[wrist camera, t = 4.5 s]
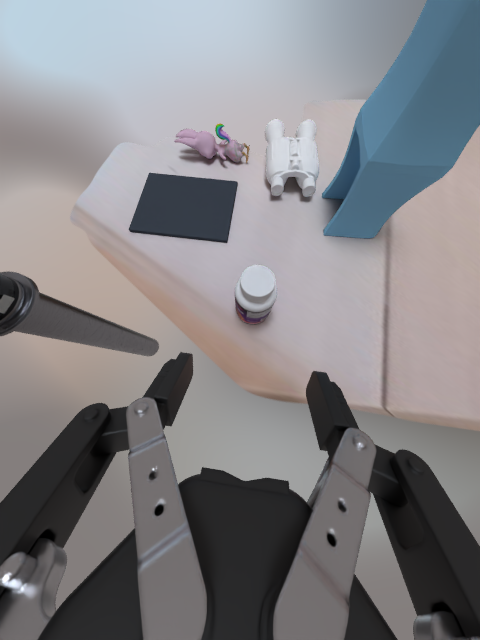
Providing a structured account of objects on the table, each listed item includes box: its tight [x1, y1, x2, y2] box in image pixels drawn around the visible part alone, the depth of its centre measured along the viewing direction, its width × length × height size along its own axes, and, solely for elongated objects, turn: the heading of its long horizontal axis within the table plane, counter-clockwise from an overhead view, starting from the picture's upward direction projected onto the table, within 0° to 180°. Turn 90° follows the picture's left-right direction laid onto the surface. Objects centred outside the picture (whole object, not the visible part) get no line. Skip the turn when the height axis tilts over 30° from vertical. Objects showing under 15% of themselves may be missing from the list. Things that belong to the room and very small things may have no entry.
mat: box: [129, 173, 237, 243], centre depth 36 cm, size 18×14×1 cm
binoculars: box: [265, 119, 319, 197], centre depth 36 cm, size 10×16×5 cm, turn 178°
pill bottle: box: [235, 265, 277, 324], centre depth 26 cm, size 5×5×10 cm
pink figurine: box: [174, 124, 249, 163], centre depth 37 cm, size 6×6×15 cm
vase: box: [322, 0, 480, 238], centre depth 23 cm, size 10×10×25 cm
